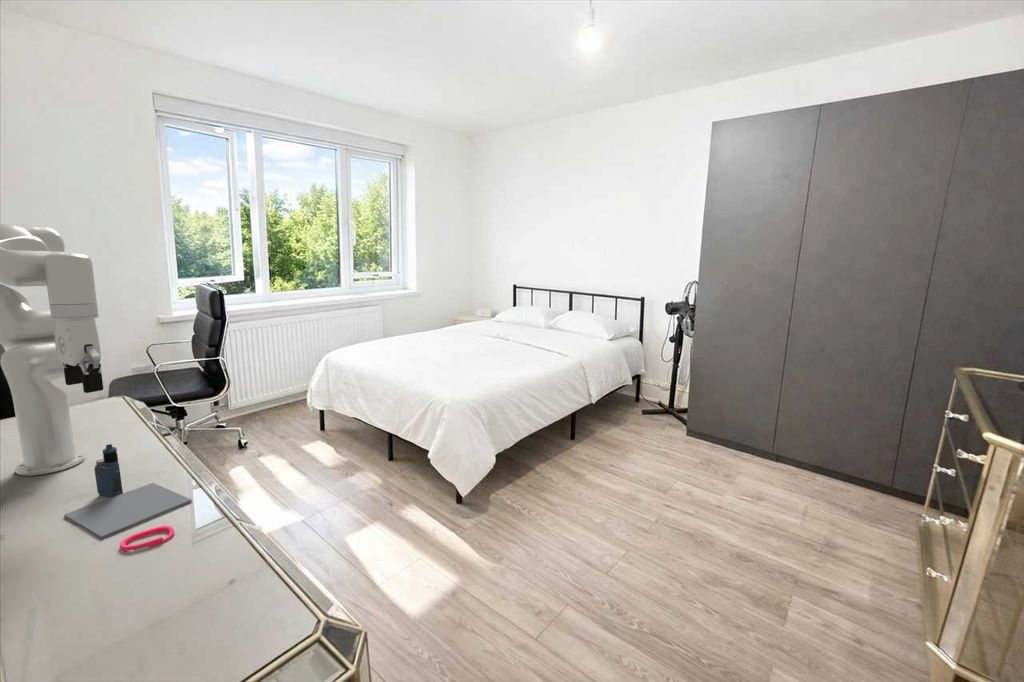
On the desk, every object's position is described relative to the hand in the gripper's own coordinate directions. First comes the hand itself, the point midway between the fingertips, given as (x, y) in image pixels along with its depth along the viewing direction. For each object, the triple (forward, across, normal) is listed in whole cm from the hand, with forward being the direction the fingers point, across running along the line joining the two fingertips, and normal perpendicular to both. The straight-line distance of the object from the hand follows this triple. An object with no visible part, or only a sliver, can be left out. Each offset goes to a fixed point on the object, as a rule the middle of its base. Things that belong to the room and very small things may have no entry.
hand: (84, 387), depth 103 cm
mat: (+24, +17, 0) cm, 29 cm away
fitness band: (+24, +34, -4) cm, 41 cm away
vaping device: (+24, +6, 0) cm, 25 cm away
